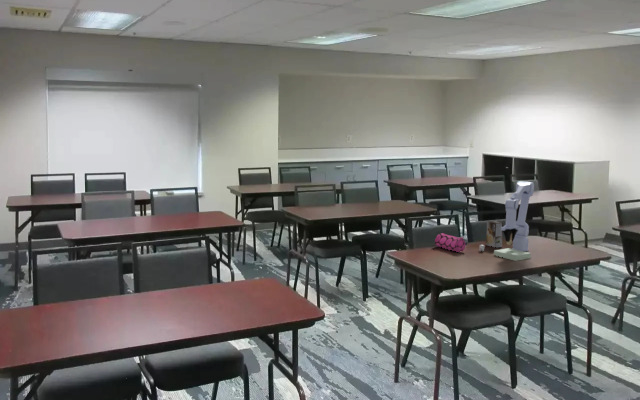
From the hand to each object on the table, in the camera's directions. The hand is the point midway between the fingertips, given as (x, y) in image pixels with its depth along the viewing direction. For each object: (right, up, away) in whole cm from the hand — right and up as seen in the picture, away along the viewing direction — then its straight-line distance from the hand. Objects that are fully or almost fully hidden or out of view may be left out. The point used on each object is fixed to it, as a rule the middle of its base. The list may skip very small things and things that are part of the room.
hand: (509, 241), depth 345 cm
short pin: (-14, -7, +11) cm, 19 cm away
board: (+1, -9, -1) cm, 9 cm away
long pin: (0, -2, 0) cm, 2 cm away
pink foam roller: (-33, -7, +16) cm, 37 cm away
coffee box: (-1, -5, +28) cm, 29 cm away
